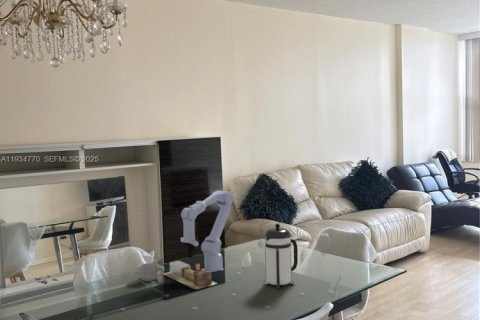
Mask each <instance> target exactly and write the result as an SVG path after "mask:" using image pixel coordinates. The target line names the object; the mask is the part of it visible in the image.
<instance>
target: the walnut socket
mask: <svg viewBox="0 0 480 320" xmlns="http://www.w3.org/2000/svg"><path fill="white" fill-rule="evenodd" d="M203 269H204V270H202V269H200V271H196V270H195V271H196V272H194V285H195V286H197V287H199V288H200V287H203V288H205V287H204V286H207V285H211V284H212V281H213V280H212V279H213V278H212V272H211V271H209V270H207V269H205V268H203ZM211 286H212V285H211ZM207 287H208V286H207ZM200 289H201V288H200Z"/></svg>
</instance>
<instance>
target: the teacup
mask: <svg viewBox="0 0 480 320" xmlns="http://www.w3.org/2000/svg"><path fill="white" fill-rule="evenodd" d="M160 269H161V270H162V271H161V272H160ZM137 270H138V271H137V272H138V273H137V274H138V277H139V279H140V280H141V281H142V282H143V281H144V282H153V281H156V279H158V278H160V277H161V275H164V274H163V273H165V267H164V266H162V265H160V264H159V263H157V262H148V263H147V262H145V263H142V264H141V263H140V264H139V265H137Z"/></svg>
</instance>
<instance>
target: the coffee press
mask: <svg viewBox="0 0 480 320" xmlns="http://www.w3.org/2000/svg"><path fill="white" fill-rule="evenodd" d="M291 237H292V233H291V232H290V230H289V229H287V228H284V227H281V225H280V223H276V224H275V225H274V227H273V228H269V229H268V230H266V231H265V233H264V239H265V240H264V241H265V242H264V246H265V247H264V252H265V253H264V257H265V260H264V261H265V279H264V281H263V283H265V282H266V283H267V284H270V285H273V286H276V290H281V286H285V285H288V284H290V285H291V284H295V281H294V280H293V276H292V274H293V273H292V272H294V271H295V270H296V269H297V266H298V261H299V260H298V259H299V256H298V244H297V241H296V240H295V239H292V238H291ZM292 245H293V264H292ZM291 281H292V282H291Z"/></svg>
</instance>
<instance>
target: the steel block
mask: <svg viewBox="0 0 480 320" xmlns="http://www.w3.org/2000/svg"><path fill="white" fill-rule="evenodd" d="M185 268H189V269H191V270H192V268H191V265H190V264H189V263H186V262H183V261H181V260H174V261H171V262H169V272H170V273H171V274H173V275H176V276H178V277H180V278H184V277H186V276H184V275H183V269H185Z"/></svg>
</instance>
